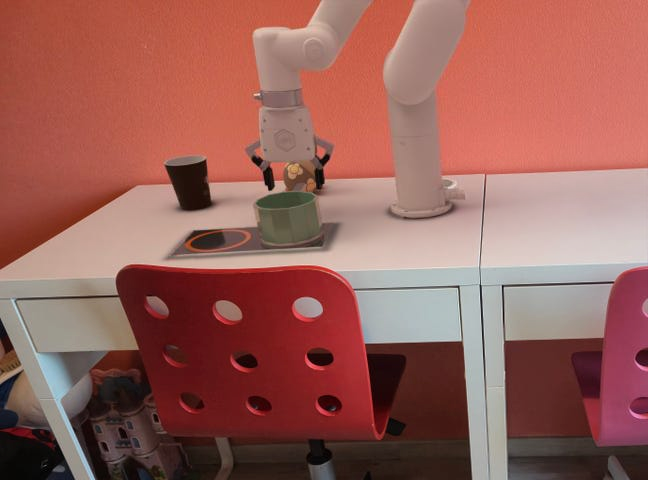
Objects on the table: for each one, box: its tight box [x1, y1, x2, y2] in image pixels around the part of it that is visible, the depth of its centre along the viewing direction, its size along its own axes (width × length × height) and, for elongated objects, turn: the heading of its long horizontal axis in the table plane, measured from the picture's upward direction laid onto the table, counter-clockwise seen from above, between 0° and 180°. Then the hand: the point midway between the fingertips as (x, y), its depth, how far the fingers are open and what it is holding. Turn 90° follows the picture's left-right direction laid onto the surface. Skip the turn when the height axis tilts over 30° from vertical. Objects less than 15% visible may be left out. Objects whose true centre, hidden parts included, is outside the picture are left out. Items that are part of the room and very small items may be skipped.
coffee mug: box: [163, 155, 212, 211], centre depth 155 cm, size 12×9×10 cm
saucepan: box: [252, 183, 323, 246], centre depth 136 cm, size 11×20×7 cm, turn 2°
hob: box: [167, 222, 334, 258], centre depth 134 cm, size 28×14×1 cm, turn 92°
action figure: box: [282, 161, 325, 193], centre depth 161 cm, size 10×11×15 cm
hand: (295, 188), depth 142 cm, fingers open, 9 cm apart
